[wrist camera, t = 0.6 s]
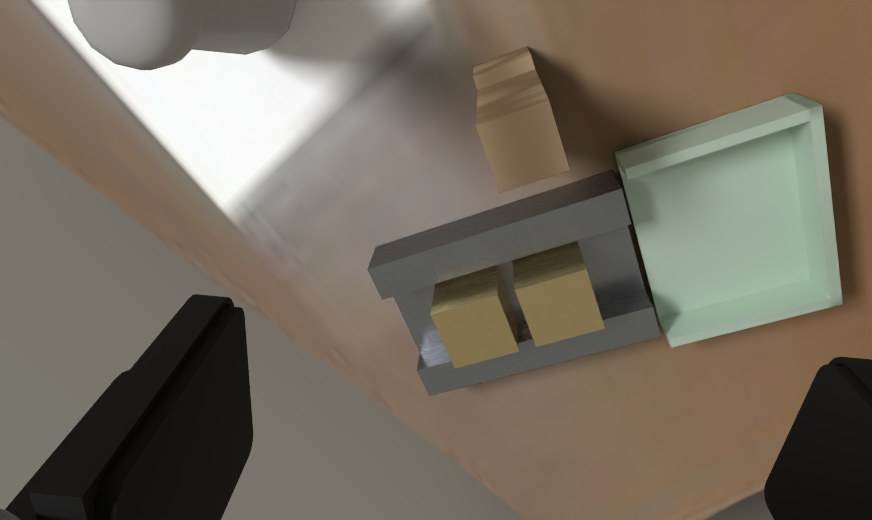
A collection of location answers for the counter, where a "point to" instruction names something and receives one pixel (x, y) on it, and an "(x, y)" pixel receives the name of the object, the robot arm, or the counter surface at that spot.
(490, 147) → the tan gable carton
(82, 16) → the salt shaker
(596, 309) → the chip
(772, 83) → the counter surface
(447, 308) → the tan cube
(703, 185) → the tray
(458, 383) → the slot board
